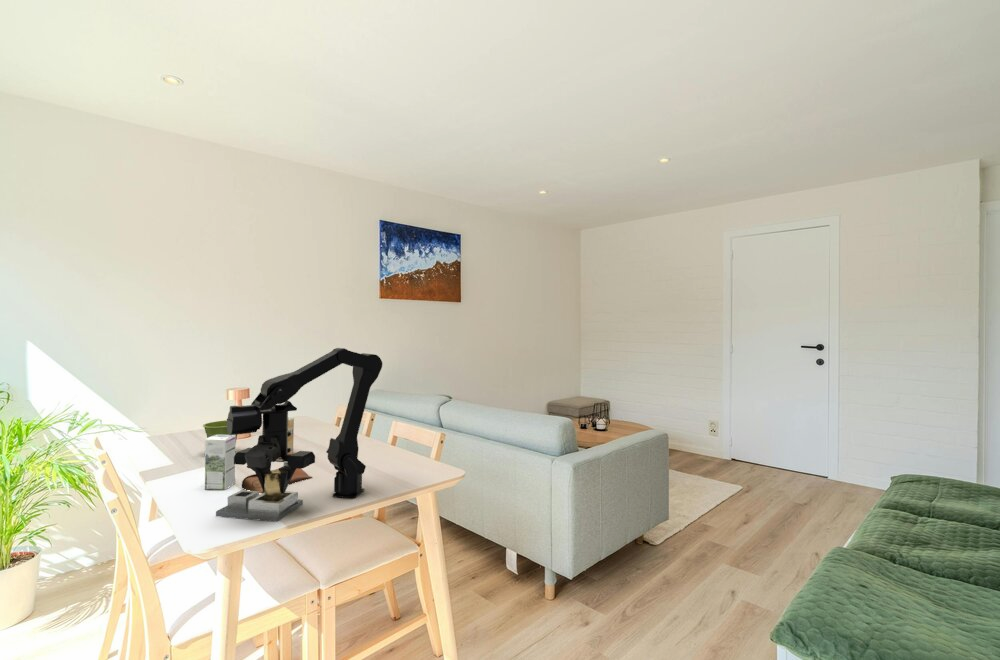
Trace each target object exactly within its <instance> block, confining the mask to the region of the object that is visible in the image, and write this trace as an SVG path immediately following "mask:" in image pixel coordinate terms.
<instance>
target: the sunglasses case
mask: <svg viewBox="0 0 1000 660" xmlns="http://www.w3.org/2000/svg"><path fill="white" fill-rule="evenodd" d="M278 469H279V468H276V469H274V470H278ZM306 479H307V480H310V479H313V476H310V475H308V473H307V472H306V471H304V470H303V468H301V469H298V468H297V469H296V470H295V472H294V474H293V476H292V478H291V480H290V482H289V485H292V483H293V484H296V483H299V482H303V481H306ZM302 480H303V481H302ZM295 482H296V483H295ZM242 488H244V489H246V490H250V491H259V493H262V494H263V493H264V492H263V489H262V487H261V484H260V481H259V479H258V477H257V475H256V473H254V474H250V475H248V476H245V478H244V479H243V480H242V481H241V489H242ZM244 489H243V490H244Z"/></svg>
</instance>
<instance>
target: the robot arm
mask: <svg viewBox="0 0 1000 660" xmlns="http://www.w3.org/2000/svg"><path fill="white" fill-rule="evenodd" d="M342 364H344V365H346V366H349V367H352V380H353V385H352V389H351V391H350V396H349V399H348V404H347V407H346V409H345V413H344V414H345V415H344V417H343V421H342V424H341V429H340V431H339V434H337V436H336V438H333V437H330V439H329V445H328V448H327V449H326V454H327V460H328V461H329V463H330V464H331V465H333V467H334V469H335V470H336V473H335V477H334V479H333V482H334V483H333V492H334V493H333V494H332V497H334V498H344V499H345V498H347V499H355V498H357V497H358V496H359V495H360V493H361V492H362V493H363V492H364V491H365V488H363V475H364V473H365V470H366V468H367V466H366V465H365V463H363V462H362V461H361V460H360V459H359V457H358V456H359V442H358V441H359V440H358V434H359V431H360V427H361V424H362V419H363V416H364V412H365V409H366V405H367V402H368V397H369V394H370V389H371V387H372V385H373V384H374V383H375V382H376V380H378V377H379V375H380V372H381V371H382V368H383V360H382V359H381V357H380V356H379V355H377V354H373V353H365V352H362V353H359V352H357V351H356V352H355V351H351V350H348V349H347V348H343V347H336V348H334V349H332V351H330V352H328V353H325V354H324V355H322V356H320V357H318V358H317V359H315V360H313V361H311V362H310V363H307V364H306V365H304V366H302V367H299V369H297V370H294V371H291V372H288V373H285V374H280V375H277V376H275V377H271V378H269V379H267V380H264V382H263V383H262V384H261V388H260V392H259V393H258V394H257V395H256V397H255V399H253V401H252V402H251V403H250V405H249V404H248V405H230V406H229V412H228V415H227V418H226V420H227V431H228V434H229V435H237V436H238V435H246V434H251V433H252V434H253V433H254V434H255V433H257V432H258V430H260V429H261V427H262V431H261V432H262V434H260V435H259V436H258V438H257V444H256V445H253V446H252V447H247V448H244V449H242V450H240V451H237V452H235V456H234V464H235V465H241V466H244V465H246V468H247V469H250V470H251V471H253V472H254V474H256V475H257V477H258V479H259V481H260V484H261V487H262V489H263V492H264V484H265V472H267V471H271V468H272V463H275V462H277V463H283V466H281V467H279V468H277V469H278V470H279V471H280V473H281V493H284V492H285V491H287V489H288V486H289V485H290V484H289V482H290V480H291V478H292V476H293V474H294V472H295V470H296V469H297V468H298V469H304V468H306V467H309V466H310V465H313V464H314V463H316V455H315V454H314V452H313V451H309V450H308V451H307V450H299V451H297V452H295V453H294V452H293V454H290V455H289V454H287V453H289V452H290V449H291V448H287V446H288V437H289V436H291V432H288V418H289V412H296V411H297V410H298V408H297V407H296V406H294V404H292V402H291V401H290V399H291V398H293V397H294V396H295V395H296V394H297V393H299V391H300V390H301V389H302V388H303V387H304V386H305V385H308V384H309V383H310V382H312V381H314V380H315V379H317V378H319V377H321V376H323V375H325V374H326V373H328V372H330V371H331V370H334V369H335V368H337V367H338V366H341V365H342ZM288 484H289V485H288ZM357 495H358V496H357ZM356 496H357V497H356Z"/></svg>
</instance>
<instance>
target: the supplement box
mask: <svg viewBox="0 0 1000 660" xmlns="http://www.w3.org/2000/svg"><path fill="white" fill-rule="evenodd" d="M294 425H295V417H288V432H291V436H289V437H288V446H287V448H291V449H290V452H289V453H287V454H289V455H292V454H294V437H295V435H294V434H295V432H294V429H295V428H294V427H295V426H294Z"/></svg>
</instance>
